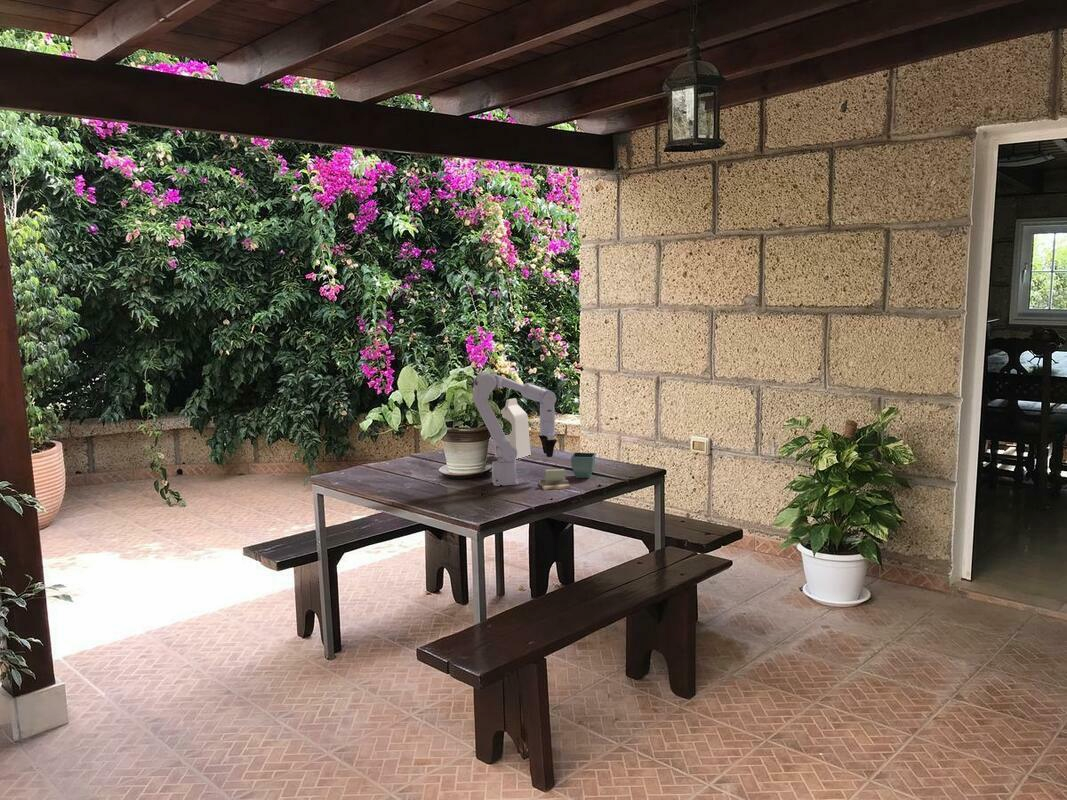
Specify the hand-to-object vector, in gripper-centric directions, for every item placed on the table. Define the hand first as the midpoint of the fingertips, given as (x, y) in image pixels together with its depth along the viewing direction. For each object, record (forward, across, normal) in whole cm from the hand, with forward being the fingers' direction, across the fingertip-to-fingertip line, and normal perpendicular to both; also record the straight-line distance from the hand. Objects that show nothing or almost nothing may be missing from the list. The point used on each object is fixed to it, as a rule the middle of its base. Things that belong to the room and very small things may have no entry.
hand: (548, 455), depth 338 cm
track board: (+10, -10, -1) cm, 14 cm away
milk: (+10, +50, +9) cm, 51 cm away
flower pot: (+10, +2, -14) cm, 18 cm away
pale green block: (+9, -10, -1) cm, 14 cm away
